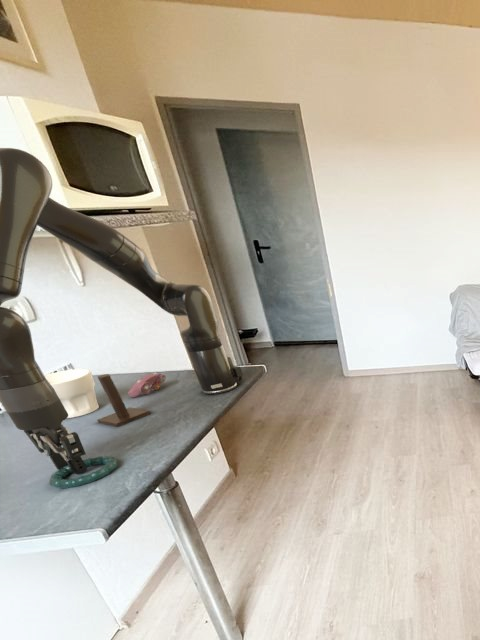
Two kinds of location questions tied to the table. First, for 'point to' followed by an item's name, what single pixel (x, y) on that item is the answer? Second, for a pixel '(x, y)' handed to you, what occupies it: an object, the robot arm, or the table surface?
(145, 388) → the pink oval lump
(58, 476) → the ring
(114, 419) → the post
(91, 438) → the table surface
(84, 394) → the cup
